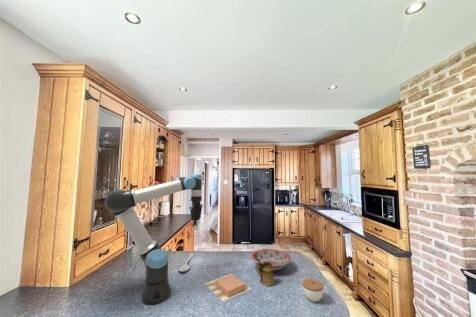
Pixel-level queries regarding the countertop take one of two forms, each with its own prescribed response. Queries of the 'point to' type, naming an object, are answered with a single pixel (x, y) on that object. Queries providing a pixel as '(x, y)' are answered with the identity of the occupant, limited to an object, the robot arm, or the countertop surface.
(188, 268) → the spoon
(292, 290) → the countertop surface
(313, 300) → the lidded jar
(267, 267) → the wooden mug
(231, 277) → the ceramic tile
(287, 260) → the ceramic bowl
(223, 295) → the cream cloth
